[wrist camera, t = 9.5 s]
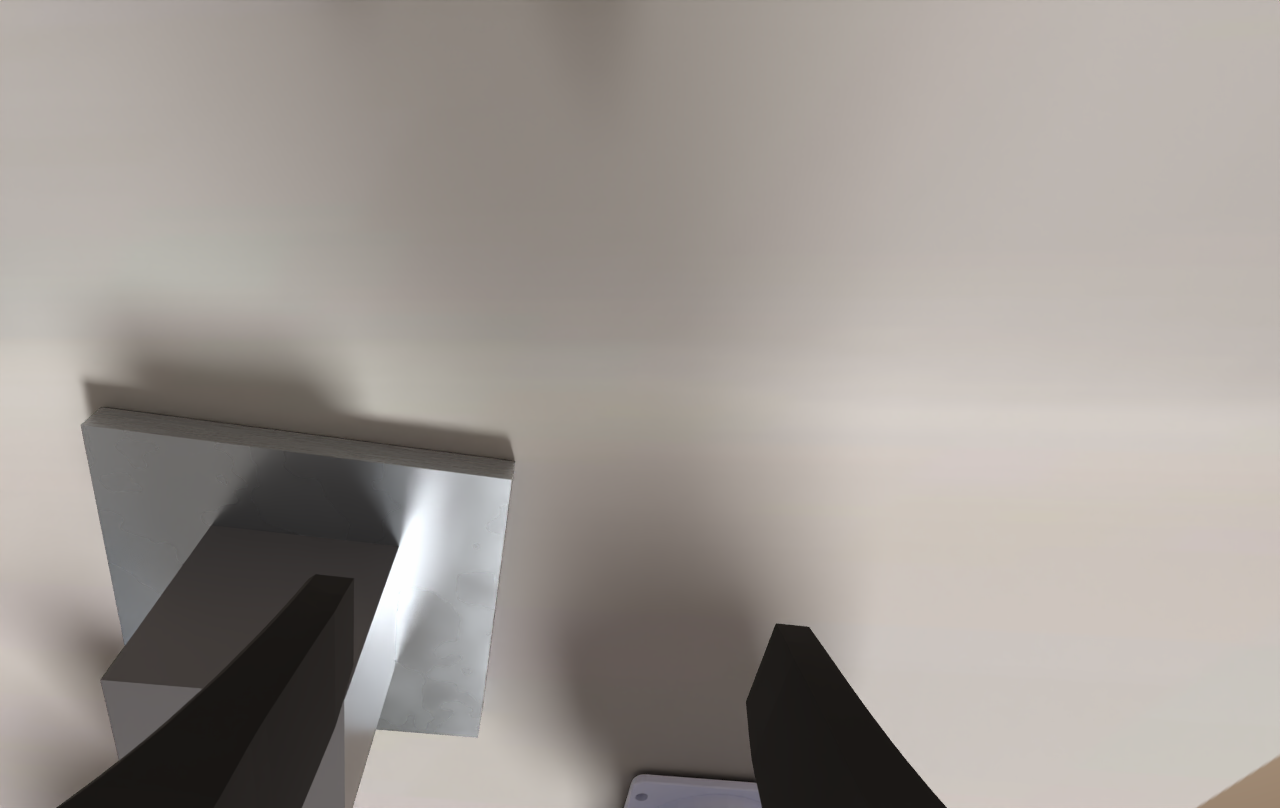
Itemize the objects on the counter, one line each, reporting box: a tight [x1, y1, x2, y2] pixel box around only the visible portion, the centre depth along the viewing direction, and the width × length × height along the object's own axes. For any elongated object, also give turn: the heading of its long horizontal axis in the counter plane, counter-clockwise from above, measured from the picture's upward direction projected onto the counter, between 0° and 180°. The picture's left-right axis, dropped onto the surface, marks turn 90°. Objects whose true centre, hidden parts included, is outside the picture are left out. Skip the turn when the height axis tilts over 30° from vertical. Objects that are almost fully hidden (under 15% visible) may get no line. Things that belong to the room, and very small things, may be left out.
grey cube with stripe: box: [101, 525, 399, 808], centre depth 22 cm, size 6×6×6 cm
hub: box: [81, 407, 515, 738], centre depth 23 cm, size 12×12×5 cm
